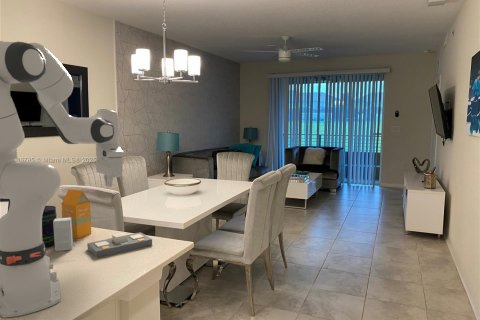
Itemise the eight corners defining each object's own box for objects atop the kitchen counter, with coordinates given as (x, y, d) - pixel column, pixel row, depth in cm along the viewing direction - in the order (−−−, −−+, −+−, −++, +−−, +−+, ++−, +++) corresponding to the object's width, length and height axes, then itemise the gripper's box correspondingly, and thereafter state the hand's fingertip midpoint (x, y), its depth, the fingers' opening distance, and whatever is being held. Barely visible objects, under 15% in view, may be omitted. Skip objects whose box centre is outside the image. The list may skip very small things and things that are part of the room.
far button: (144, 243, 149) (143, 236, 149) (133, 245, 146) (133, 238, 146) (139, 240, 153) (139, 233, 152) (129, 242, 150) (129, 235, 149)
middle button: (127, 241, 144) (127, 235, 144) (116, 244, 142) (116, 237, 141) (123, 238, 148) (122, 232, 148) (112, 241, 145) (112, 234, 145)
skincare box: (73, 246, 146) (71, 217, 144) (71, 249, 142) (70, 219, 140) (56, 247, 144) (54, 218, 142) (54, 251, 140) (52, 221, 138)
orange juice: (77, 238, 154) (74, 192, 152) (62, 235, 158) (60, 190, 156) (91, 233, 161) (89, 189, 159) (77, 230, 165) (75, 187, 163)
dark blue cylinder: (26, 245, 146) (23, 209, 145) (50, 238, 154) (48, 204, 152) (37, 250, 140) (35, 213, 139) (62, 243, 148) (60, 208, 146)
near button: (109, 250, 140) (109, 244, 140) (98, 253, 138) (98, 246, 137) (106, 247, 144) (105, 240, 143) (94, 250, 141) (94, 243, 141)
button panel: (152, 245, 147) (152, 238, 147) (96, 258, 134) (96, 250, 133) (140, 237, 156) (140, 231, 155) (87, 249, 142) (87, 242, 142)
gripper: (91, 150, 149) (92, 183, 150) (108, 153, 132) (109, 190, 134) (107, 149, 152) (108, 182, 154) (125, 152, 136) (125, 189, 138)
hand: (108, 186), depth 144 cm, fingers closed
